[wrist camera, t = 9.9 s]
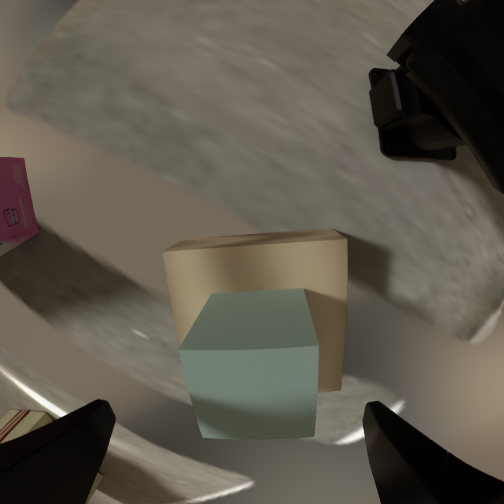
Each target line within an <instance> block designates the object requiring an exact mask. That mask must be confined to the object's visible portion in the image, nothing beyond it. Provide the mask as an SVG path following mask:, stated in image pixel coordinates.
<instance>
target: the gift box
mask: <svg viewBox="0 0 504 504" xmlns="http://www.w3.org/2000/svg"><path fill="white" fill-rule="evenodd" d="M52 421H53V420H52V418H51V417H50V416H49V414H48V413H47V412H39V411H30V410H27V411H26V410H18V409H11V410H10V411H9V412H8V413H7V414H5V415H4V416H3V417H2V418H1V419H0V443H3V442H6V441H9V440H12V439H15V438H17V437H20V436H22V435H24V434H26V433H29V432H31V431H33V430H35V429H38V428H40V427H42V426H44V425H46V424H48V423H50V422H52ZM102 479H103V476H102V475H101V474H100V473H99V472H98V474H97V476H96V478H95V481H94V483H93V486H92V489H91V491H90V494H89V496H88V499H87V501H86V504H88V502H89V500H90V499H91V497H92V495H93V494H94V492H95V490H96V489H97V487H98V485H99V484H100V482H101V480H102Z"/></svg>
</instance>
